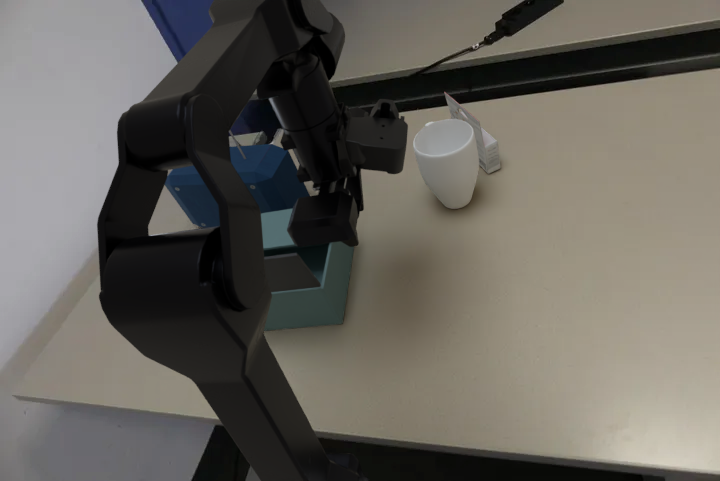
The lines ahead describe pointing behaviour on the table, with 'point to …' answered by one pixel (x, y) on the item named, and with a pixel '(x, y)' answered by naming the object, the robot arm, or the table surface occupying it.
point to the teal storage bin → (324, 263)
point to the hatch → (288, 273)
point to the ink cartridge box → (477, 136)
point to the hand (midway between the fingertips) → (357, 227)
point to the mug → (448, 160)
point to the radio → (257, 170)
